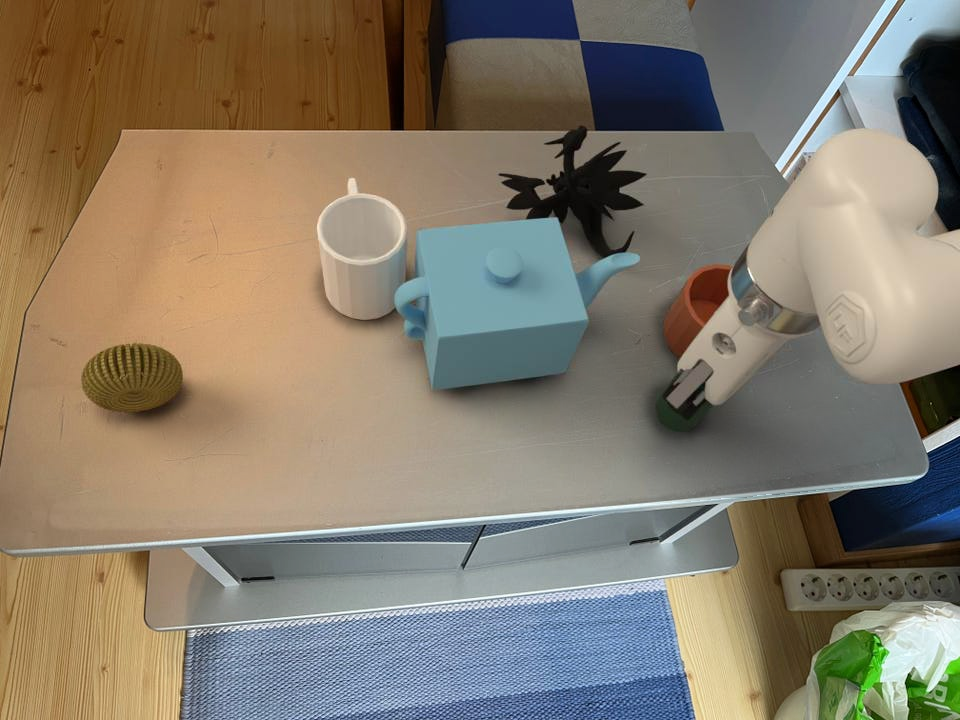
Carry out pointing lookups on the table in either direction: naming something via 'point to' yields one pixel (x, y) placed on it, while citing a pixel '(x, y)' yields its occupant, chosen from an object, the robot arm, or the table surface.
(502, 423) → the table surface
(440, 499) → the table surface
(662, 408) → the bottle
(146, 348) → the sculpture
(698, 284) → the cup
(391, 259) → the mug
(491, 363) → the teapot
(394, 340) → the table surface
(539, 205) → the figurine
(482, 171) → the table surface
